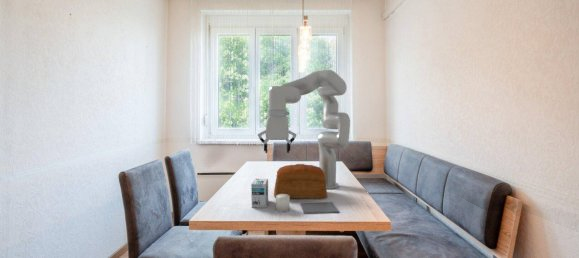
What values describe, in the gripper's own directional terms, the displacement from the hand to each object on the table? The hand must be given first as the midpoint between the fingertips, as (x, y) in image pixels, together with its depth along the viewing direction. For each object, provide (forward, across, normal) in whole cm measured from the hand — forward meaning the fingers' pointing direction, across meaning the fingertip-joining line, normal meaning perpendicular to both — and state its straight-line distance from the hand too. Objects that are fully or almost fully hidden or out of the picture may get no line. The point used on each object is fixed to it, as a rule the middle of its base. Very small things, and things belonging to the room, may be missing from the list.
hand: (277, 152), depth 122 cm
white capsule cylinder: (+24, -2, +4) cm, 25 cm away
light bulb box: (+25, +7, -4) cm, 26 cm away
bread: (+25, -13, -16) cm, 32 cm away
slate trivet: (+24, -18, +4) cm, 31 cm away
